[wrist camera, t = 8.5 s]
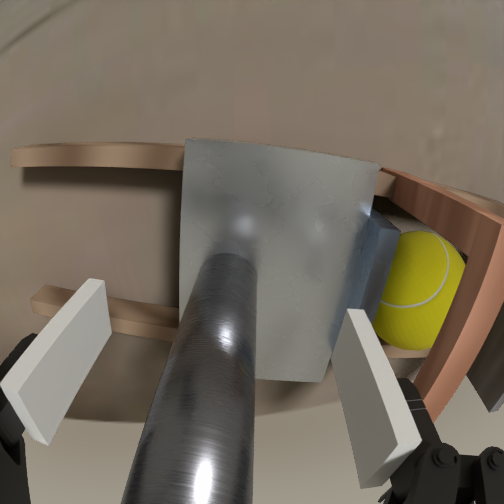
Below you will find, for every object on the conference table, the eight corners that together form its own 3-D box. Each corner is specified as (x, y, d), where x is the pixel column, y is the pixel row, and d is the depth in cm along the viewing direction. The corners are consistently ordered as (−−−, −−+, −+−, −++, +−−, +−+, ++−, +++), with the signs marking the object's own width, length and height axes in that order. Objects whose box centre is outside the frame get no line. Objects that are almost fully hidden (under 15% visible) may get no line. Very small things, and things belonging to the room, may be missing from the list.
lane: (48, 299, 22) (-29, 386, 12) (31, 142, 17) (-93, 176, 7) (449, 340, 23) (508, 433, 13) (500, 199, 18) (606, 258, 8)
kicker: (191, 333, 22) (131, 565, 7) (200, 135, 17) (-100, 245, 1) (326, 345, 22) (374, 570, 7) (371, 159, 17) (642, 313, 2)
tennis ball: (329, 256, 20) (358, 317, 14) (415, 197, 18) (476, 234, 12) (373, 324, 22) (404, 390, 16) (448, 274, 21) (497, 325, 14)
